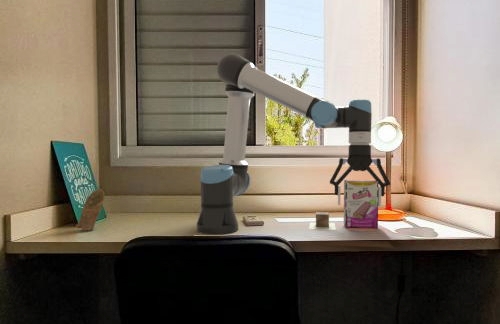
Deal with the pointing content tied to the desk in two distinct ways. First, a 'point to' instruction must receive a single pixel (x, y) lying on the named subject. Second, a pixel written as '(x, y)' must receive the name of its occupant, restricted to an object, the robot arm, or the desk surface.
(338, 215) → the desk surface
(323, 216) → the walnut block
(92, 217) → the figurine
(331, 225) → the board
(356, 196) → the candy bar box
